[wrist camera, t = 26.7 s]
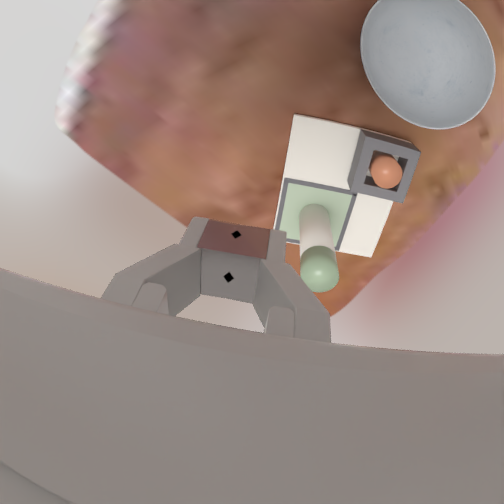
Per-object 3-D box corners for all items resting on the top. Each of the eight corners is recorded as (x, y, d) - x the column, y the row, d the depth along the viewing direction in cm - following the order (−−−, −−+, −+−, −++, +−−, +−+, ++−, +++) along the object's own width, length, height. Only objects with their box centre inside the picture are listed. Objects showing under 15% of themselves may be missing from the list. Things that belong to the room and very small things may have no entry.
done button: (371, 146, 34) (377, 156, 32) (397, 153, 34) (406, 164, 31) (363, 172, 37) (369, 184, 34) (389, 178, 36) (396, 191, 34)
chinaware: (338, 95, 32) (349, 108, 26) (354, -20, 23) (369, -35, 17) (449, 126, 32) (477, 146, 25) (470, 21, 22) (503, 22, 16)
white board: (294, 113, 34) (293, 120, 31) (410, 141, 34) (420, 152, 31) (271, 236, 46) (269, 252, 43) (370, 254, 45) (374, 270, 42)
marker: (300, 202, 40) (303, 262, 31) (330, 205, 40) (342, 265, 31) (297, 228, 43) (298, 290, 34) (326, 230, 43) (334, 293, 33)
